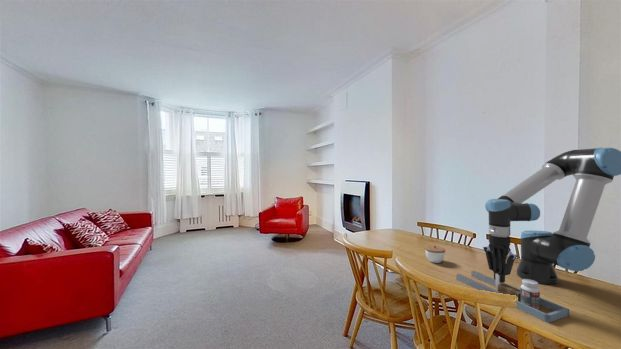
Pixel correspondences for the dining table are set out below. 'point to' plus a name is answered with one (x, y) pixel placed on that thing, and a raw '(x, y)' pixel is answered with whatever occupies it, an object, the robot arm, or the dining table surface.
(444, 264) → the dining table surface
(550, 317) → the corral tray
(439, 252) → the lidded jar
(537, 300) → the pill bottle
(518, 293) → the walnut chip
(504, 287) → the walnut chip
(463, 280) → the slot rails
